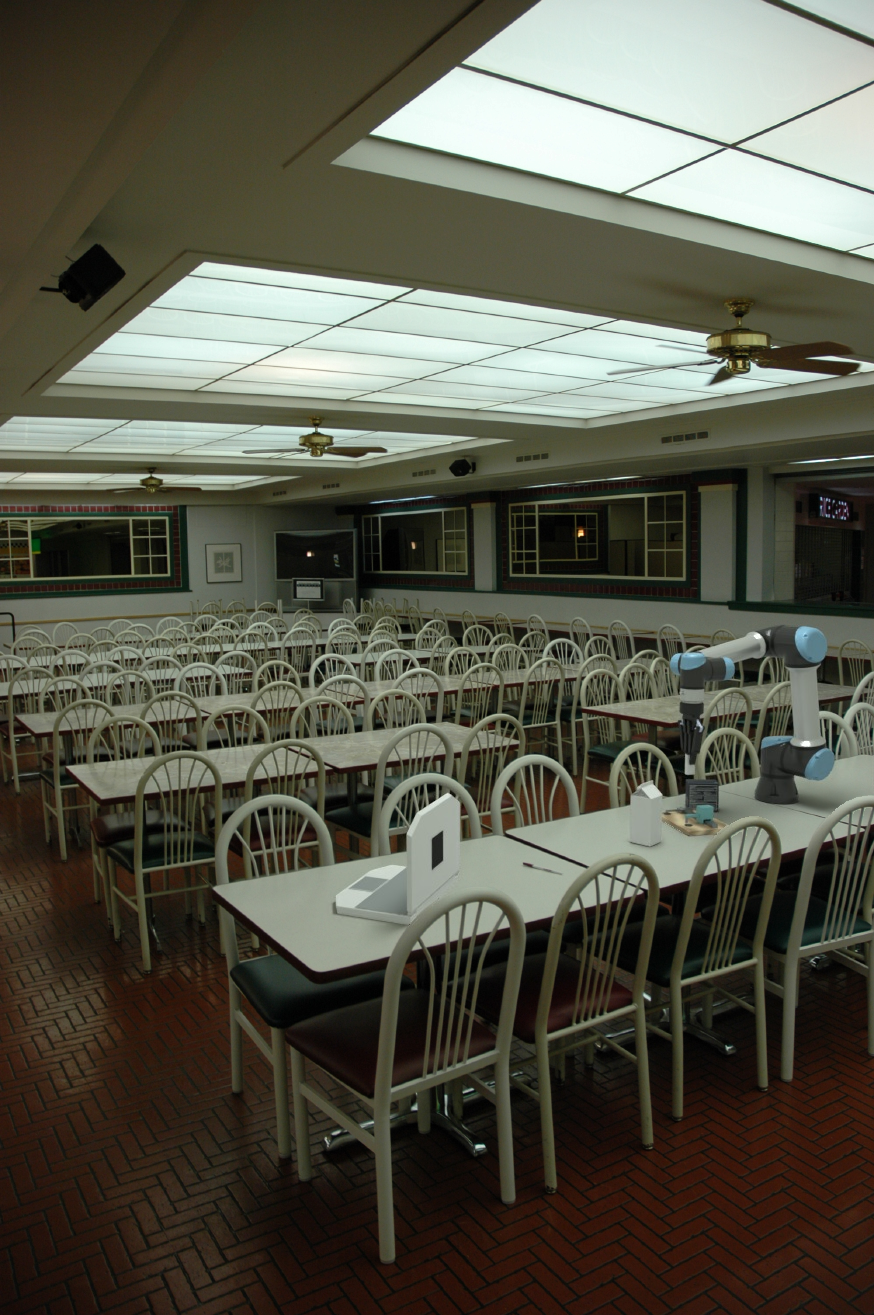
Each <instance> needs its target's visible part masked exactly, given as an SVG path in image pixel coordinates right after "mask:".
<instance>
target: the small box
mask: <svg viewBox="0 0 874 1315" xmlns="http://www.w3.org/2000/svg"><path fill="white" fill-rule="evenodd" d="M719 787H720V783H719V781H717V780H716V779H699V778H698V779H696V778H695V779H694V778H692V779H690V778H688V779H685V801H684V802H685V806H684V807H690V808H692V809H693V810H697V806H698V805H710V806H712V807H714V810H713V813H714V812H718V813H719V812H720V810H719V809H720V808H719V806H720V805H719V803H720V802H719V800H720V798H719V795H720V793H719V792H720V791H719V790H720V788H719Z"/></svg>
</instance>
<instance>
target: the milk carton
mask: <svg viewBox="0 0 874 1315" xmlns="http://www.w3.org/2000/svg"><path fill="white" fill-rule="evenodd" d="M629 806H630V811H629V843H633V844H637V845H642V846H645V847H652V846H654V845H657V844H660V843H661V842H662V833H663V832H662V831H663V830H662V827H663V821H662V812H663V793H661V791H660V790H659V789H658V788H657V786H655V785H654V780H649V781H646V782H643V783H641V784H640V785H638V786H637V787H636V791H635V792H633V793H632V794H630V805H629Z"/></svg>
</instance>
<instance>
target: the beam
mask: <svg viewBox="0 0 874 1315" xmlns="http://www.w3.org/2000/svg"><path fill="white" fill-rule="evenodd" d="M676 811H677V812H678V813H680V814H686V815H688V814H696V813H695V812H693V809H692V808H690V807H685V806H683V807H681V806H680V807H676V808H673V809H671V808H670V809H665V812H666V814H668V812H676ZM691 818H693V819H695V820H696V817H691ZM703 824H705V825H707V826H709V827H710V828H718V824H716V823H714V822H712V821H710V820H709V819H704V820H703Z"/></svg>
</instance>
